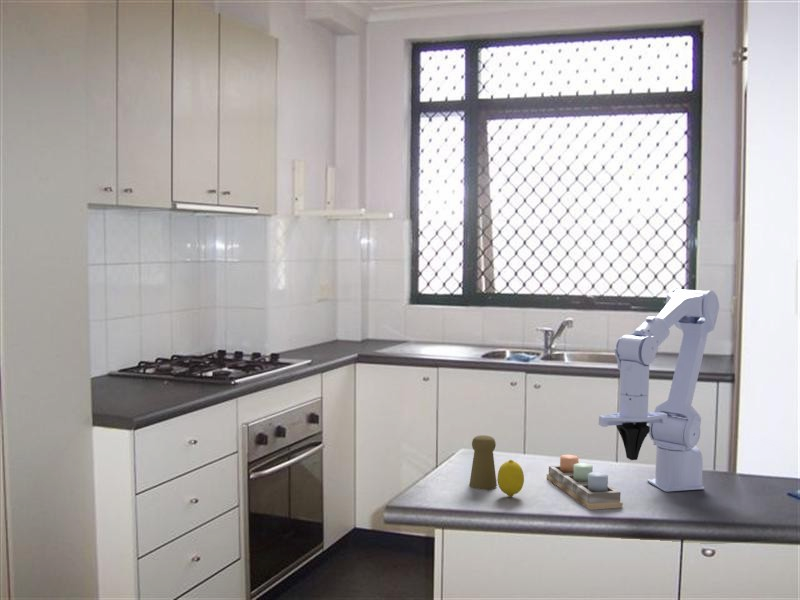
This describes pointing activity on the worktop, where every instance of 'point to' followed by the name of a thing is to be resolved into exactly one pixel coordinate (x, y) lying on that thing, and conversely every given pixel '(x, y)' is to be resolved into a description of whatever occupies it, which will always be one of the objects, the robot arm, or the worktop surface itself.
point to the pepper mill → (483, 463)
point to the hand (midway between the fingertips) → (631, 458)
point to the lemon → (510, 478)
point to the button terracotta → (568, 463)
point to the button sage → (582, 472)
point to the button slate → (597, 482)
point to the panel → (584, 491)
